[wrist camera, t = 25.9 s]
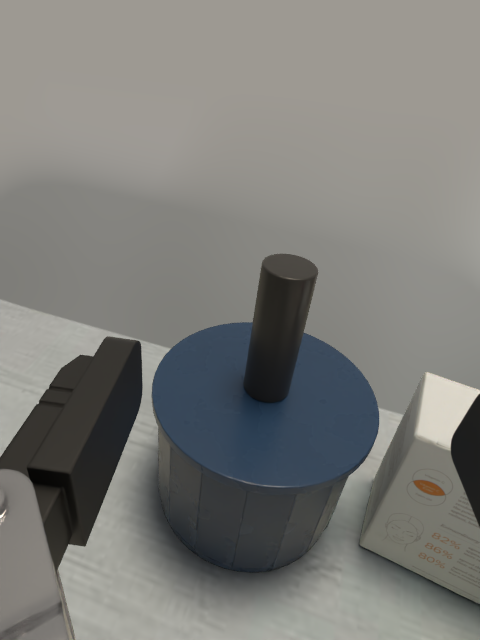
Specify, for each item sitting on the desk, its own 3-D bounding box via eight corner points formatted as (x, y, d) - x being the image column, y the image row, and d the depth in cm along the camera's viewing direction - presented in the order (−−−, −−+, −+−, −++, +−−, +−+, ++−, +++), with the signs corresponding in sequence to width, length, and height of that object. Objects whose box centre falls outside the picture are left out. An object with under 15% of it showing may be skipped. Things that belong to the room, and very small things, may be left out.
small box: (492, 530, 27) (584, 423, 21) (495, 617, 23) (613, 513, 17) (372, 476, 30) (424, 367, 24) (355, 545, 25) (414, 433, 19)
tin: (125, 524, 25) (116, 431, 20) (203, 399, 34) (210, 315, 29) (310, 608, 22) (351, 524, 17) (341, 448, 31) (373, 364, 27)
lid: (231, 558, 16) (261, 402, 11) (117, 369, 24) (106, 231, 20) (419, 435, 23) (492, 302, 18) (280, 319, 31) (302, 205, 26)
